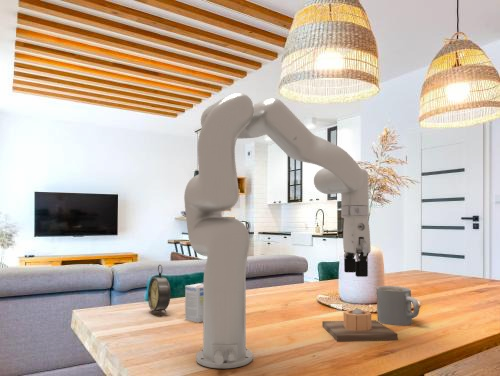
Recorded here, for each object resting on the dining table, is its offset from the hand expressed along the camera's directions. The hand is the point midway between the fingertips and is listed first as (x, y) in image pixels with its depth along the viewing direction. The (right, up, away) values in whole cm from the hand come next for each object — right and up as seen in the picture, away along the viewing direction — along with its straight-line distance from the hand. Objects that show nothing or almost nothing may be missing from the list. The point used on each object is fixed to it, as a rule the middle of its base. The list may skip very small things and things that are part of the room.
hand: (355, 274), depth 114 cm
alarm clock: (-60, -18, +23) cm, 67 cm away
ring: (0, -14, -1) cm, 14 cm away
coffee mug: (+16, -17, +10) cm, 25 cm away
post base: (0, -16, -1) cm, 16 cm away
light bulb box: (-44, -18, +16) cm, 50 cm away
